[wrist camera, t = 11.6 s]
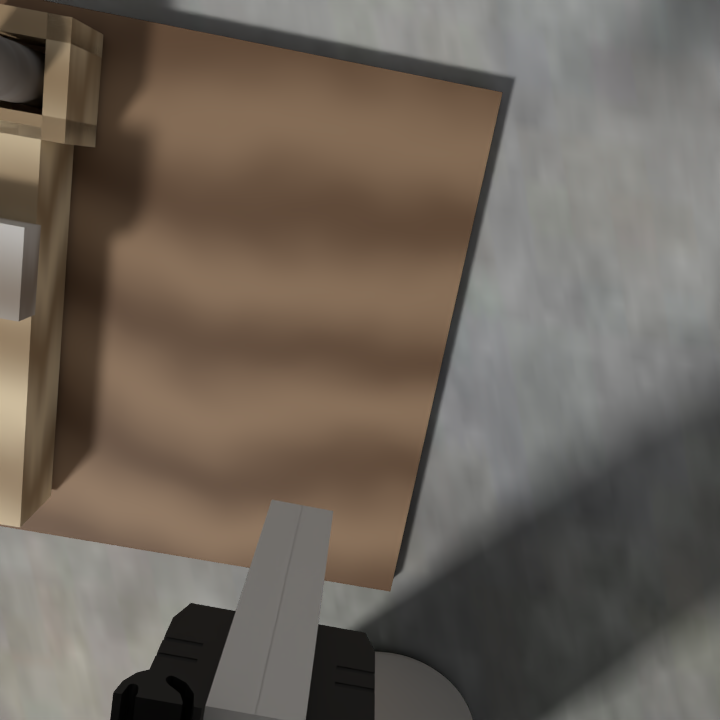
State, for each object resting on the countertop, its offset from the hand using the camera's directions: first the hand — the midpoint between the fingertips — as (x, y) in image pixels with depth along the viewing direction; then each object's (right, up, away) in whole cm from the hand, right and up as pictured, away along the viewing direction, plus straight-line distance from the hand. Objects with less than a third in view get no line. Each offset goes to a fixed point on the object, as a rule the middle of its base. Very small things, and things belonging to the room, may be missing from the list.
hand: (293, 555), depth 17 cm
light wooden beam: (-15, +9, +18) cm, 25 cm away
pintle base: (-8, +7, +19) cm, 22 cm away
